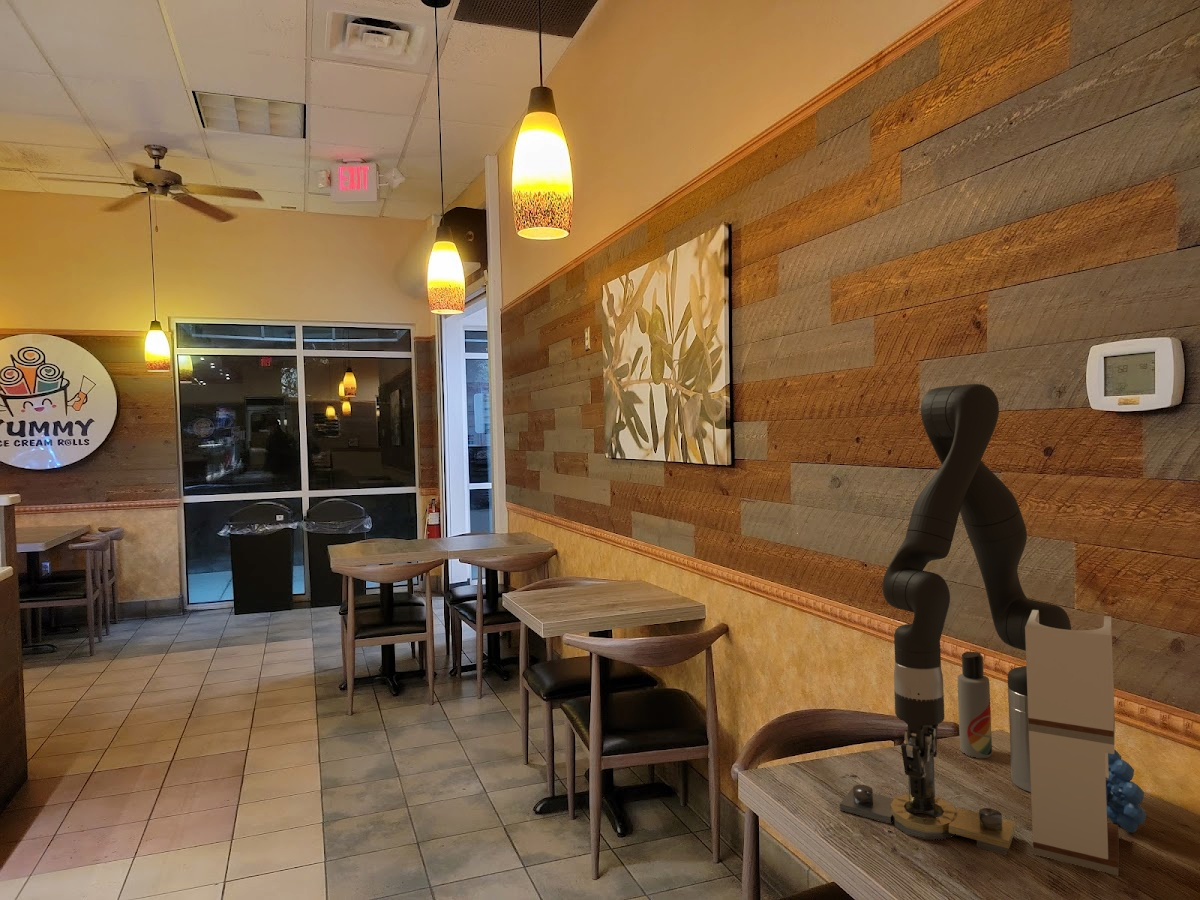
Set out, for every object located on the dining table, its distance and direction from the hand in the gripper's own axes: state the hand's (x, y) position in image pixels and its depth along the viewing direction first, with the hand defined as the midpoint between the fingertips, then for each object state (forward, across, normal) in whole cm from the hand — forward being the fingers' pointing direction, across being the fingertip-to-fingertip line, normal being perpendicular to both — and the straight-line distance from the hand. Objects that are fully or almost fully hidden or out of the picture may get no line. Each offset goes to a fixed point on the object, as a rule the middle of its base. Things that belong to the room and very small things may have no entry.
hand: (922, 791), depth 124 cm
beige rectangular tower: (+5, +5, -21) cm, 22 cm away
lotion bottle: (+5, +32, -2) cm, 33 cm away
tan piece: (+5, 0, 0) cm, 5 cm away
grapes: (+5, +15, -25) cm, 30 cm away
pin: (+2, 0, 0) cm, 2 cm away
